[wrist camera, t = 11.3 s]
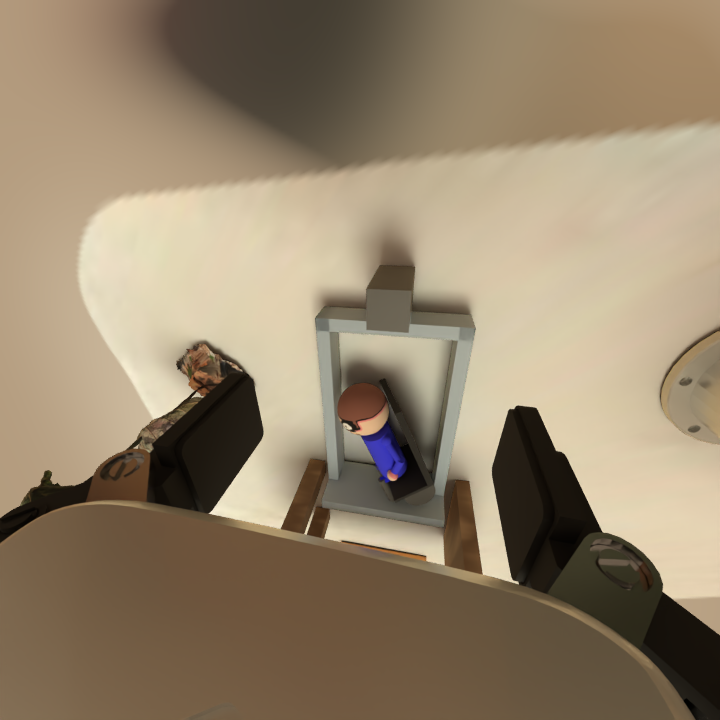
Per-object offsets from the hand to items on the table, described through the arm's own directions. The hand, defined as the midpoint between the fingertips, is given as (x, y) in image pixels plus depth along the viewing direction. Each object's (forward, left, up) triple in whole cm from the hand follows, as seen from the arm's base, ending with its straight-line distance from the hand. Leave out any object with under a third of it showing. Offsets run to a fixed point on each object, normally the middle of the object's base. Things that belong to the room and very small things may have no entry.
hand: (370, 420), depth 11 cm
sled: (+1, +11, -18) cm, 22 cm away
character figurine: (0, +16, -19) cm, 25 cm away
